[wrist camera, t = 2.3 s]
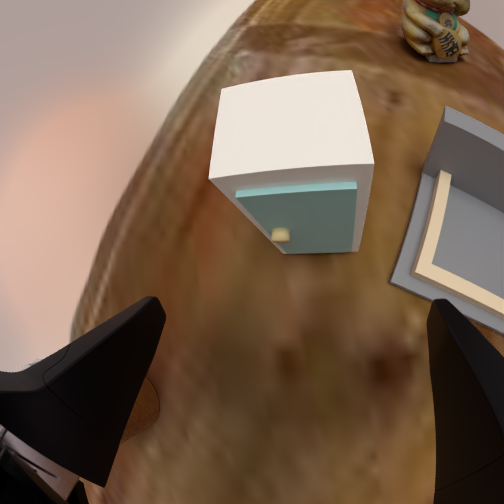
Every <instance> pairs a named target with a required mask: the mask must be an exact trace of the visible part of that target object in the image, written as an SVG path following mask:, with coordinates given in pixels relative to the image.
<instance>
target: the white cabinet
mask: <svg viewBox="0 0 504 504" xmlns="http://www.w3.org/2000/svg"><path fill="white" fill-rule="evenodd" d="M373 169H374V160H373V154H372V149H371V144H370V139H369V134H368V130H367V125H366V121H365V117H364V113H363V109H362V105H361V101H360V97H359V94H358V90H357V87H356V83H355V80H354V77H353V73H352V70H345V71H329V72H317V73H307V74H299V75H291V76H284V77H278V78H272V79H266V80H260V81H255V82H250V83H245V84H241V85H236V86H232V87H228V88H223V89H222V91H221V96H220V102H219V109H218V115H217V121H216V128H215V135H214V142H213V149H212V156H211V164H210V171H209V180H210V181H211V182H212V183H213V184H214V185H215V186H216V187H217V188H218V189H219V190H220V191H221V192H222V193H223V194H224V195H225V196H226V197H227V198H228V199H229V200H230V201H231V202H232V203H233V204H234V205H235V206H236V207H237V208H238V209H239V210H240V211H241V212H242V213H243V214H244V215H245V216H246V217H247V218H248V219H249V220H250V221H251V222H252V223H253V224H254V225H255V226H256V227H257V228H258V229H259V230H260V231H261V232H262V233H263V234H264V235H265V236H266V237H267V238H268V239H269V240H270V241H271V242H272V243H273V244H274V245H275V246H276V247H277V248H278V249H279V250H280V251H281V252H282V253H283V254H301V253H335V252H358V251H359V246H360V242H361V237H362V232H363V227H364V222H365V217H366V212H367V206H368V201H369V195H370V189H371V182H372V176H373Z"/></svg>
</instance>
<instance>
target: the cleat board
mask: <svg viewBox="0 0 504 504" xmlns="http://www.w3.org/2000/svg"><path fill="white" fill-rule="evenodd" d="M389 283H390V284H392V285H394V286H396V287H399V288H401V289H403V290H406V291H408V292H410V293H412V294H415V295H417V296H419V297H421V298H424V299H426V300H428V301H430V302H433V300H434V299H439V298H446V299H448V300H449V301H450V302H451V303H452V304H453V305H454V306H455V307H456V308H457V309H458V310H459V311H460V312H461V313H462V314H463V315H464V316H465V317H466V318H468V319H470V320H472V321H474V322H476V323H478V324H480V325H482V326H485V327H487V328H489V329H491V330H493V331H495V332H497V333H499V334H501V335H503V336H504V135H503V134H501V133H500V132H498V131H496V130H494V129H493V128H491V127H489V126H487V125H485V124H483V123H481V122H479V121H477V120H475V119H473V118H471V117H469V116H467V115H465V114H463V113H461V112H459V111H456V110H454V109H452V108H449V107H447V106H445V109H444V112H443V115H442V118H441V121H440V123H439V126H438V129H437V132H436V134H435V137H434V140H433V142H432V145H431V147H430V150H429V152H428V155H427V157H426V160H425V162H424V165H423V169H422V174H421V178H420V183H419V187H418V191H417V195H416V199H415V203H414V207H413V210H412V214H411V218H410V221H409V224H408V228H407V231H406V234H405V238H404V241H403V244H402V247H401V250H400V253H399V256H398V259H397V262H396V264H395V267H394V270H393V273H392V275H391V278H390V281H389Z"/></svg>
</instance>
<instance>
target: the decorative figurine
mask: <svg viewBox="0 0 504 504" xmlns="http://www.w3.org/2000/svg"><path fill="white" fill-rule="evenodd" d="M469 9H470V0H406V1H405V2H404V5H403V10H404V13H403V17H402V20H401V26H402V30H403V33H404V36H405V38H406V40H407V42H408V44H409V45H410V46H411V47H412V48H413V49H415V50H416V51H417V52H418V53H419V54H421V55H424V56H425V57H426V58H427V59H428V61H430V62H439V63H441V62H457V57H458V56H459V55H468V50H467V48H466V45H467V44H468V43H469V33H468V31H467V29H466V28H465V27H463V26H462V25H461V24H459V22H458V19H457V17H456V16H462V15H465V14H467V13H468V11H469Z"/></svg>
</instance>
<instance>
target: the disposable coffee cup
mask: <svg viewBox="0 0 504 504" xmlns="http://www.w3.org/2000/svg"><path fill="white" fill-rule="evenodd" d="M41 360H43V359H36V360H34V361H33V362H32V364H29V365H25V366H24V367H22V369H21V371H22V370H24V369H26V368H28V367H30V366H32V365H34V364H35V363H37V362H39V361H41ZM158 415H159V400H158V396H157V393H156V391H155V389H154V387H153V385H152V384H151V383H150V381H149V380H148V379H147V378H146V377H145V380H144V382H143V384H142V387H141V389H140V392H139V394H138V397H137V399H136V402H135V405H134V407H133V410H132V412H131V415H130V418H129V420H128V423H127V426H126V428H125V431H124V434H123V436H122V439H121V442H120V444H121V443H123V442H124V441H126V440H128V439H129V438H131V437H132V436H134V435H136V434H137V433H139V432H140V431H142V430H143V429H145V428H147V426H150V425H151V424H153V423H154V422H155V421H156V419H157V418H158Z"/></svg>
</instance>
